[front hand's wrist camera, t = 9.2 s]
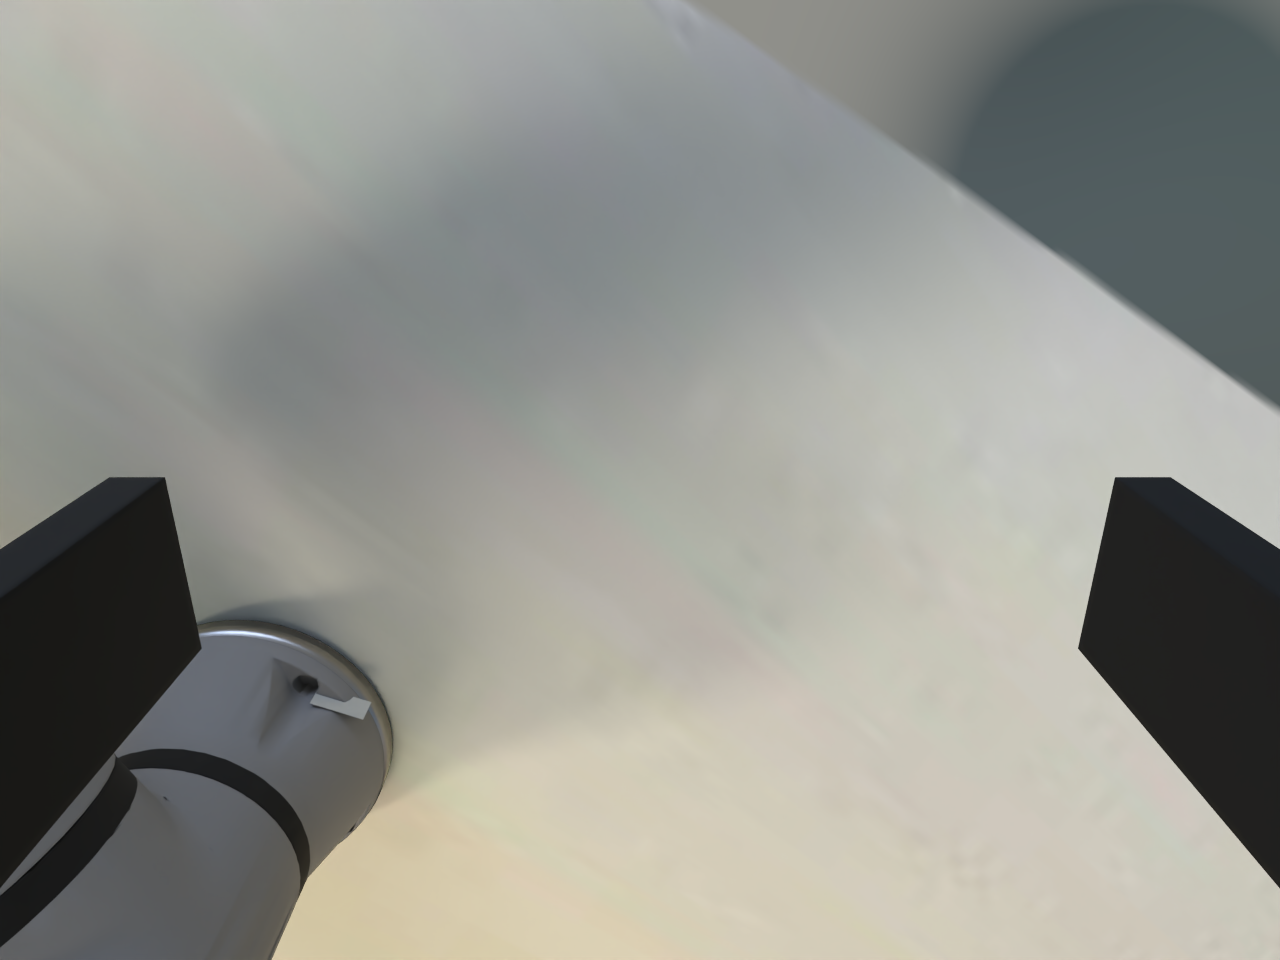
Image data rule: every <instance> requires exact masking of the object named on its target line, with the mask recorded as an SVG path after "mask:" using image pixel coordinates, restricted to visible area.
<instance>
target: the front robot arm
mask: <svg viewBox="0 0 1280 960" xmlns="http://www.w3.org/2000/svg"><path fill="white" fill-rule="evenodd" d="M1078 649H1079V650H1080V651H1081V652H1082V654H1083V655H1084V656H1085V657H1086V658H1087V660H1088V661H1089V662H1090V663H1091V664H1092V666H1093V667H1094V668H1095V669H1096V670H1097V672H1098V673H1099V674H1100V675H1101V676H1102V677H1103V679H1104V680H1105V681H1106V682H1107V683H1108V685H1109V686H1110V687H1111V688H1112V689H1113V691H1114V692H1115V693H1116V694H1117V695H1118V696H1119V698H1120V699H1121V700H1122V701H1123V702H1124V704H1125V705H1126V706H1127V707H1128V708H1129V710H1130V711H1131V712H1132V713H1133V714H1134V715H1135V717H1136V718H1137V719H1138V720H1139V721H1140V723H1141V724H1142V725H1143V726H1144V727H1145V729H1146V730H1147V731H1148V732H1149V733H1150V734H1151V736H1152V737H1153V738H1154V739H1155V740H1156V742H1157V743H1158V744H1159V745H1160V746H1161V748H1162V749H1163V750H1164V751H1165V752H1166V754H1167V755H1168V756H1169V757H1170V758H1171V759H1172V761H1173V762H1174V763H1175V764H1176V765H1177V767H1178V768H1179V769H1180V770H1181V771H1182V773H1183V774H1184V775H1185V776H1186V777H1187V778H1188V780H1189V781H1190V782H1191V783H1192V784H1193V786H1194V787H1195V788H1196V789H1197V790H1198V792H1199V793H1200V794H1201V795H1202V796H1203V797H1204V799H1205V800H1206V801H1207V802H1208V803H1209V805H1210V806H1211V807H1212V808H1213V809H1214V811H1215V812H1216V813H1217V814H1218V815H1219V817H1220V818H1221V819H1222V820H1223V821H1224V822H1225V824H1226V825H1227V826H1228V827H1229V828H1230V830H1231V831H1232V832H1233V833H1234V834H1235V836H1236V837H1237V838H1238V839H1239V840H1240V841H1241V843H1242V844H1243V845H1244V846H1245V847H1246V849H1247V850H1248V851H1249V852H1250V853H1251V855H1252V856H1253V857H1254V858H1255V859H1256V860H1257V862H1258V863H1259V864H1260V865H1261V866H1262V868H1263V869H1264V870H1265V871H1266V872H1267V874H1268V875H1269V876H1270V877H1271V878H1272V879H1273V881H1274V882H1275V883H1276V884H1277V885H1278V887H1279V888H1280V549H1278V548H1277V547H1275V546H1274V545H1272V544H1271V543H1269V542H1268V541H1266V540H1265V539H1263V538H1262V537H1260V536H1259V535H1257V534H1256V533H1254V532H1253V531H1251V530H1250V529H1248V528H1247V527H1245V526H1244V525H1242V524H1241V523H1239V522H1237V521H1236V520H1234V519H1233V518H1231V517H1230V516H1228V515H1227V514H1225V513H1224V512H1222V511H1221V510H1219V509H1218V508H1216V507H1215V506H1213V505H1212V504H1210V503H1209V502H1207V501H1206V500H1204V499H1203V498H1201V497H1200V496H1198V495H1197V494H1195V493H1193V492H1192V491H1190V490H1189V489H1187V488H1186V487H1184V486H1183V485H1181V484H1180V483H1178V482H1177V481H1175V480H1174V479H1172V478H1171V477H1115V480H1114V485H1113V490H1112V494H1111V499H1110V503H1109V508H1108V513H1107V517H1106V522H1105V527H1104V531H1103V536H1102V540H1101V545H1100V550H1099V554H1098V559H1097V563H1096V568H1095V573H1094V577H1093V582H1092V587H1091V591H1090V596H1089V600H1088V605H1087V610H1086V614H1085V619H1084V624H1083V628H1082V633H1081V637H1080V642H1079V647H1078ZM391 757H392V734H391V728H390V723H389V720H388V717H387V713H386V711H385V709H384V706H383V704H382V702H381V700H380V698H379V697H378V695H377V693H376V691H375V690H374V689H373V687H372V686H371V684H370V683H369V682H368V680H367V679H366V678H365V677H364V676H363V674H362V673H361V672H360V671H359V670H358V669H357V668H356V667H355V666H354V665H353V664H352V663H351V662H349V661H348V660H347V659H346V658H345V657H343V656H342V655H341V654H339V653H338V652H337V651H335V650H334V649H332V648H331V647H329V646H327V645H326V644H324V643H322V642H321V641H319V640H317V639H315V638H313V637H311V636H308V635H306V634H304V633H301V632H299V631H296V630H293V629H290V628H287V627H284V626H280V625H276V624H271V623H266V622H259V621H249V620H225V621H217V622H210V623H206V624H201V625H198V626H197V624H196V619H195V614H194V610H193V605H192V600H191V596H190V591H189V587H188V582H187V577H186V573H185V568H184V563H183V559H182V554H181V550H180V545H179V540H178V536H177V531H176V527H175V522H174V517H173V513H172V508H171V503H170V499H169V494H168V490H167V485H166V480H165V477H109V478H108V479H106V480H105V481H103V482H102V483H100V484H99V485H97V486H96V487H94V488H93V489H91V490H90V491H88V492H87V493H85V494H83V495H82V496H80V497H79V498H77V499H76V500H74V501H73V502H71V503H70V504H68V505H67V506H65V507H64V508H62V509H61V510H59V511H58V512H56V513H55V514H53V515H52V516H50V517H49V518H47V519H46V520H44V521H43V522H41V523H39V524H38V525H36V526H35V527H33V528H32V529H30V530H29V531H27V532H26V533H24V534H23V535H21V536H20V537H18V538H17V539H15V540H14V541H12V542H11V543H9V544H8V545H6V546H5V547H3V548H2V549H0V960H272V957H273V955H274V953H275V950H276V948H277V946H278V943H279V941H280V939H281V937H282V934H283V932H284V930H285V927H286V925H287V923H288V921H289V918H290V916H291V914H292V911H293V909H294V907H295V904H296V902H297V900H298V898H299V895H300V893H301V891H302V889H303V886H304V884H305V882H306V880H307V878H308V877H309V876H310V874H311V873H312V872H313V871H314V870H315V869H316V868H317V867H318V866H319V865H320V863H321V862H322V861H323V860H324V859H325V858H326V857H327V856H328V855H329V854H330V852H331V851H332V850H333V849H334V848H335V847H336V846H337V845H338V844H339V843H340V842H342V841H343V840H344V839H346V838H347V837H348V836H349V835H350V834H351V833H352V832H353V831H354V830H355V829H356V828H357V827H358V826H359V825H360V824H361V822H362V821H363V820H364V818H365V817H366V816H367V814H368V813H369V812H370V810H371V809H372V807H373V806H374V804H375V802H376V800H377V798H378V796H379V794H380V792H381V789H382V786H383V784H384V781H385V779H386V776H387V773H388V770H389V767H390V763H391Z"/></svg>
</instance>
